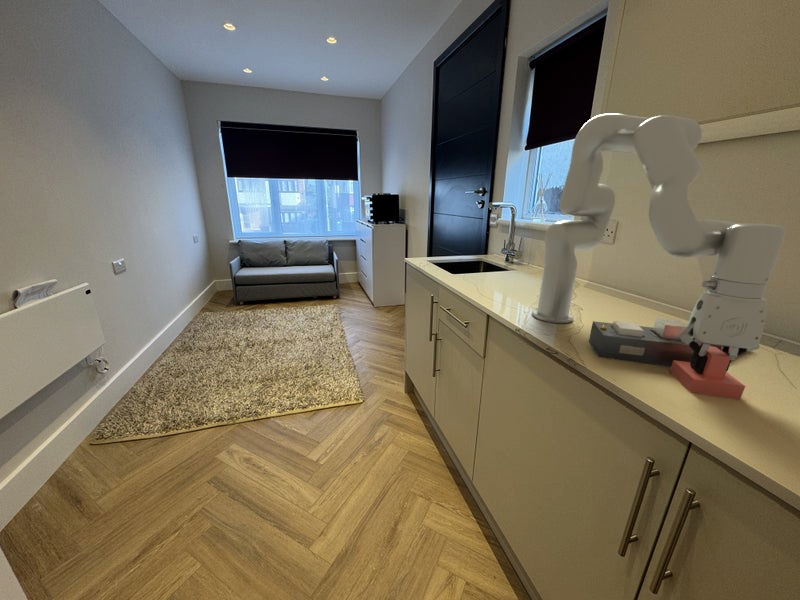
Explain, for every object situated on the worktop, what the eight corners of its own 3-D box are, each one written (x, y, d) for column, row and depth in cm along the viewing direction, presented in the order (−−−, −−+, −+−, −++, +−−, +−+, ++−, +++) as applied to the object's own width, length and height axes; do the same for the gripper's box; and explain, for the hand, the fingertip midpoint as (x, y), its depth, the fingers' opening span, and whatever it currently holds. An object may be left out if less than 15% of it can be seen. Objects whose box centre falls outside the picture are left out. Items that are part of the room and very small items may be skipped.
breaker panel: (588, 341, 89) (595, 309, 86) (682, 352, 83) (693, 318, 80) (599, 357, 79) (607, 322, 76) (706, 371, 73) (719, 334, 70)
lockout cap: (669, 371, 73) (679, 340, 71) (714, 377, 71) (725, 345, 68) (689, 391, 65) (701, 357, 63) (740, 399, 63) (754, 363, 61)
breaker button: (610, 335, 84) (613, 321, 83) (632, 337, 83) (635, 323, 82) (616, 342, 80) (620, 328, 78) (639, 345, 78) (643, 330, 77)
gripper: (695, 289, 60) (669, 374, 66) (807, 298, 56) (769, 388, 62) (675, 280, 67) (653, 358, 73) (773, 287, 63) (742, 369, 68)
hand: (706, 371), depth 67 cm, fingers closed on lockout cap, 3 cm apart
